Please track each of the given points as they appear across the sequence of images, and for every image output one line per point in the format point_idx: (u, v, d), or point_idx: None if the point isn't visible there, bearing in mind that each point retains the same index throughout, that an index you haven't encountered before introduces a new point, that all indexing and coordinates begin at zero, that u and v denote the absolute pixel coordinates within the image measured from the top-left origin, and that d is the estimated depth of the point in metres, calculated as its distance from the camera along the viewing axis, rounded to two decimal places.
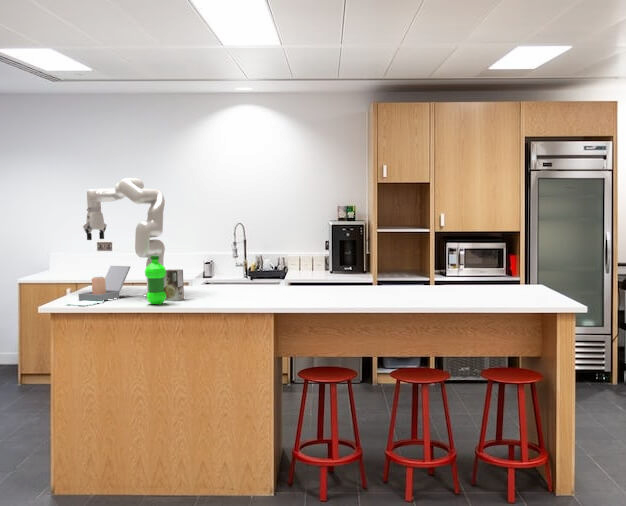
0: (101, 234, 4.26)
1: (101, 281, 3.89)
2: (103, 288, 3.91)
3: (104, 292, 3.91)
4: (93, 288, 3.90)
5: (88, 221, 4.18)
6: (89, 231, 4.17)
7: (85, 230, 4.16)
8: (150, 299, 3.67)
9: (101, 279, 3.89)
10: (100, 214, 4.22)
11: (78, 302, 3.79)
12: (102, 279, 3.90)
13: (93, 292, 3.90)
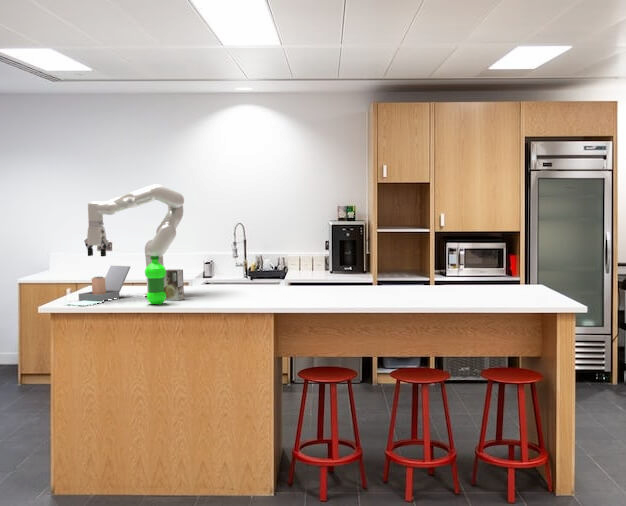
0: (91, 250, 3.92)
1: (101, 281, 3.89)
2: (103, 288, 3.91)
3: (104, 292, 3.91)
4: (93, 288, 3.90)
5: (103, 236, 3.87)
6: None
7: (106, 245, 3.86)
8: (150, 299, 3.67)
9: (101, 279, 3.89)
10: None
11: (78, 302, 3.79)
12: (102, 279, 3.90)
13: (93, 292, 3.90)
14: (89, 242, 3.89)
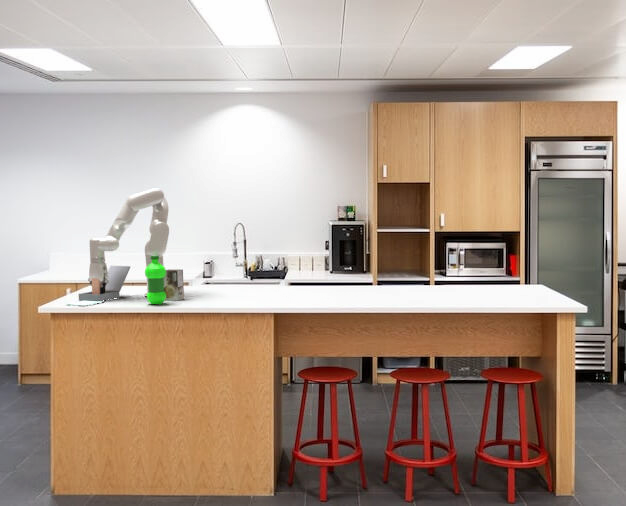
0: None
1: None
2: None
3: None
4: (93, 288, 3.90)
5: (104, 272, 3.88)
6: (105, 285, 3.90)
7: (105, 284, 3.88)
8: (150, 299, 3.67)
9: None
10: None
11: (78, 302, 3.79)
12: None
13: (93, 292, 3.90)
14: (91, 278, 3.90)
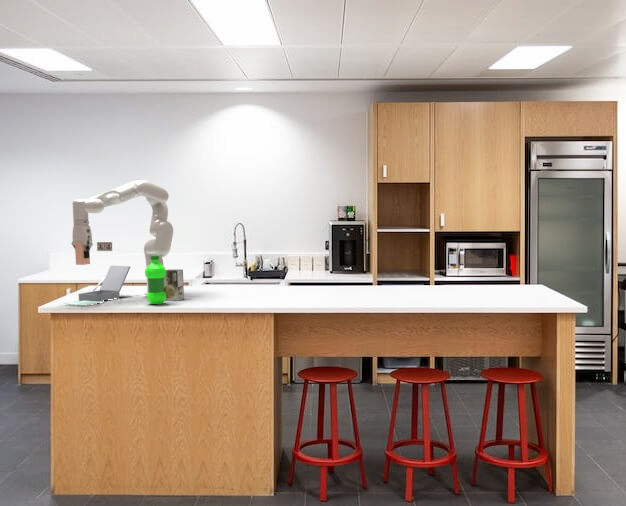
0: None
1: None
2: None
3: None
4: (76, 252, 3.74)
5: (88, 235, 3.72)
6: (89, 248, 3.75)
7: (89, 247, 3.73)
8: (150, 299, 3.67)
9: None
10: None
11: (78, 302, 3.79)
12: None
13: (76, 256, 3.74)
14: (74, 242, 3.75)
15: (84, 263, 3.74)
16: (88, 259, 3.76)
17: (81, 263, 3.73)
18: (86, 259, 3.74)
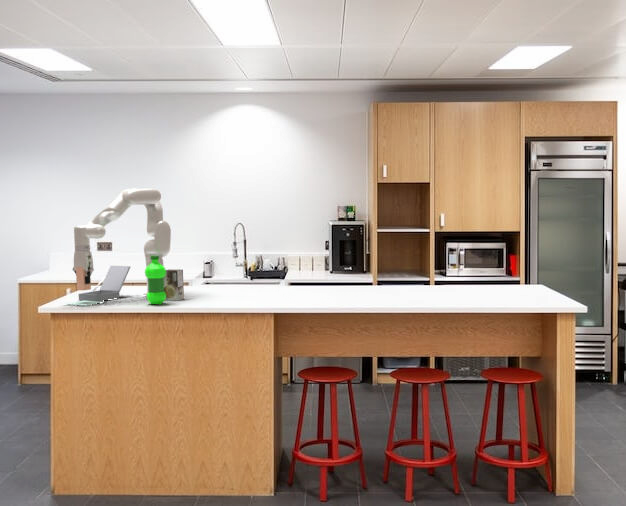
0: None
1: None
2: None
3: None
4: (77, 277, 3.75)
5: (89, 261, 3.73)
6: (90, 274, 3.76)
7: (90, 273, 3.74)
8: (150, 299, 3.67)
9: None
10: None
11: (78, 302, 3.79)
12: None
13: (77, 281, 3.75)
14: (75, 267, 3.76)
15: (85, 289, 3.75)
16: (89, 285, 3.77)
17: (82, 289, 3.74)
18: (87, 285, 3.75)
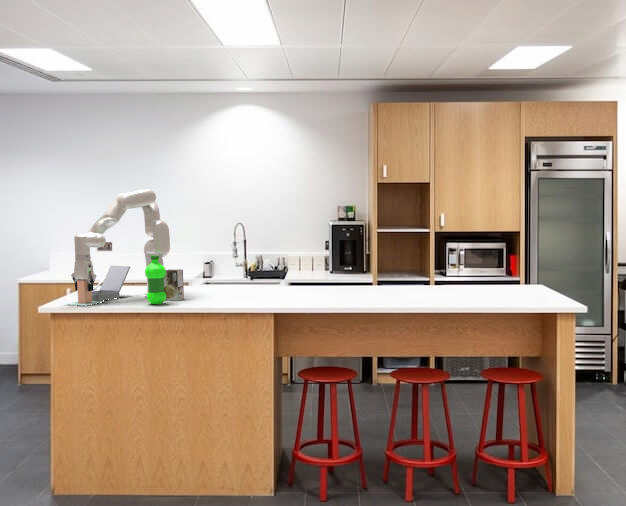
0: None
1: (87, 283, 3.75)
2: None
3: (90, 295, 3.77)
4: (78, 290, 3.76)
5: (90, 270, 3.74)
6: (93, 281, 3.75)
7: (94, 280, 3.73)
8: (150, 299, 3.67)
9: (87, 281, 3.75)
10: None
11: None
12: None
13: (78, 295, 3.76)
14: (76, 276, 3.76)
15: (86, 302, 3.75)
16: (90, 297, 3.78)
17: (83, 302, 3.75)
18: (88, 298, 3.76)
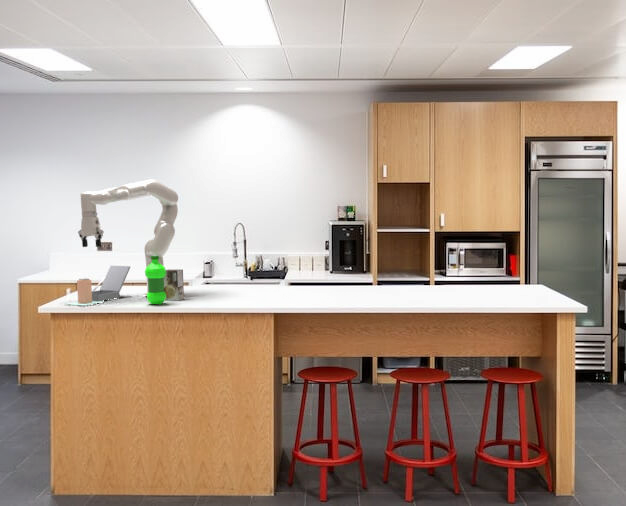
0: (85, 241, 3.88)
1: (87, 283, 3.75)
2: (89, 290, 3.77)
3: (90, 295, 3.77)
4: (78, 290, 3.76)
5: (97, 226, 3.83)
6: None
7: (101, 236, 3.82)
8: (150, 299, 3.67)
9: (87, 281, 3.75)
10: None
11: None
12: (88, 281, 3.76)
13: (78, 295, 3.76)
14: (83, 233, 3.85)
15: (86, 302, 3.75)
16: (90, 297, 3.78)
17: (83, 302, 3.75)
18: (88, 298, 3.76)
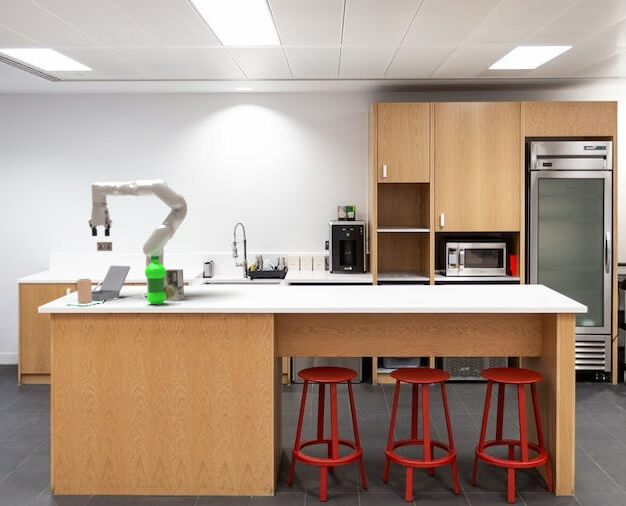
0: (95, 231, 4.01)
1: (87, 283, 3.75)
2: (89, 290, 3.77)
3: (90, 295, 3.77)
4: (78, 290, 3.76)
5: (106, 216, 3.95)
6: (109, 227, 3.96)
7: (110, 225, 3.94)
8: (150, 299, 3.67)
9: (87, 281, 3.75)
10: None
11: None
12: (88, 281, 3.76)
13: (78, 295, 3.76)
14: (93, 222, 3.97)
15: (86, 302, 3.75)
16: (90, 297, 3.78)
17: (83, 302, 3.75)
18: (88, 298, 3.76)
